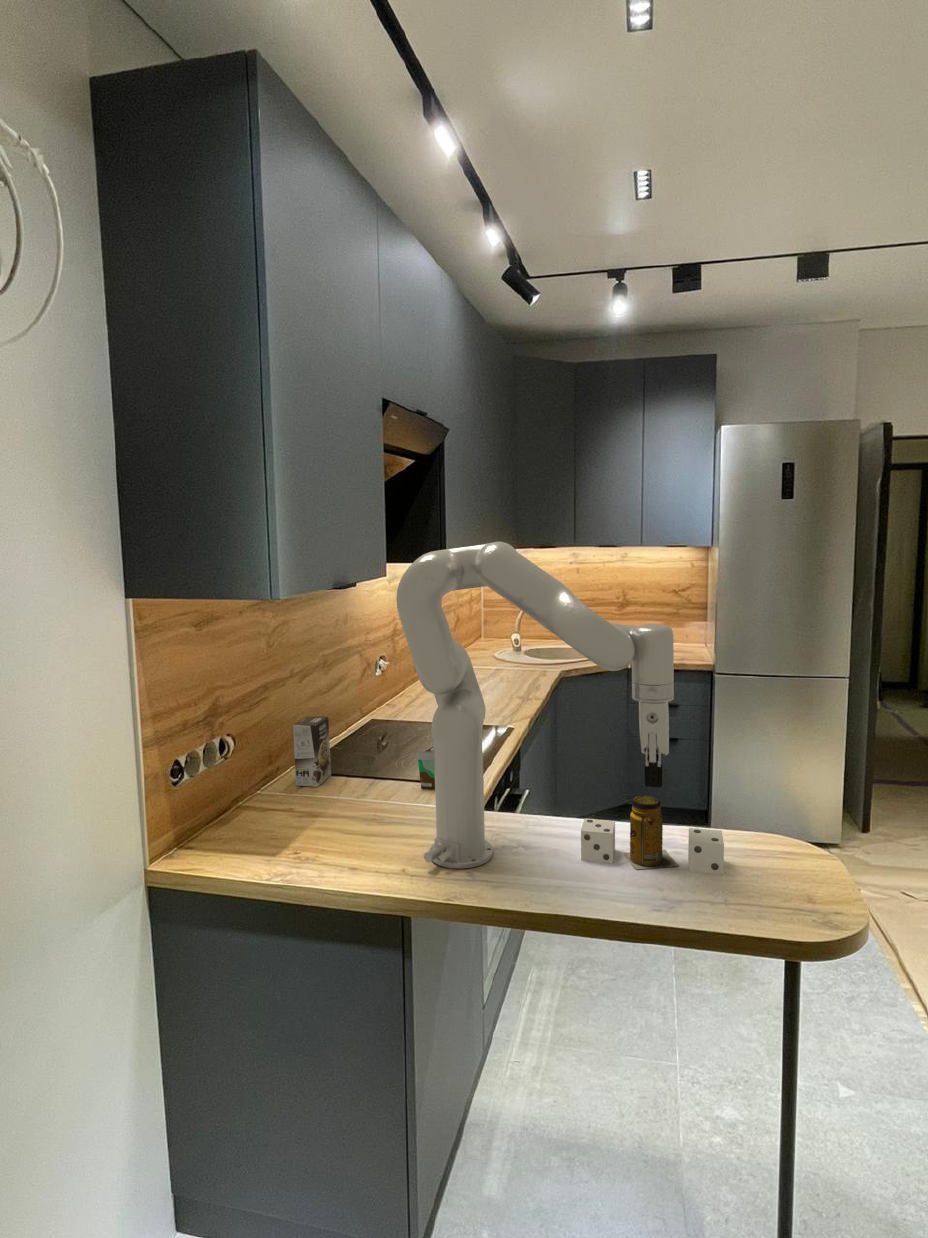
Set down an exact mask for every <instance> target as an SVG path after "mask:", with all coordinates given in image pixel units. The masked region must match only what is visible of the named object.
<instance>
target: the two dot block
mask: <svg viewBox="0 0 928 1238" xmlns="http://www.w3.org/2000/svg"><path fill="white" fill-rule="evenodd" d="M724 841H725V840H724V836H723V830H719V829H707V828H696V827H695V828H694V827H688V845H687V846H688V850H687V851H688V852H687V853H688V855H687V857H688V872H691V873H692V872H693V873H704V874H711V875H712V874H713V875H722V876H723V875H724V864H725V861H724V857H725V842H724Z"/></svg>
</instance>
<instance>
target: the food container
mask: <svg viewBox="0 0 928 1238" xmlns="http://www.w3.org/2000/svg"><path fill="white" fill-rule="evenodd" d="M415 758H416V760H418V771H419V772H418V773H419V780H420V781H419V782H420V788H421V790H422V789H423V790H432V791H433V790H434V791H435V774H434V754H433V746H431V747H430V748H428V749H427V750H425V751H424V750H417V751H416V756H415Z"/></svg>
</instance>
